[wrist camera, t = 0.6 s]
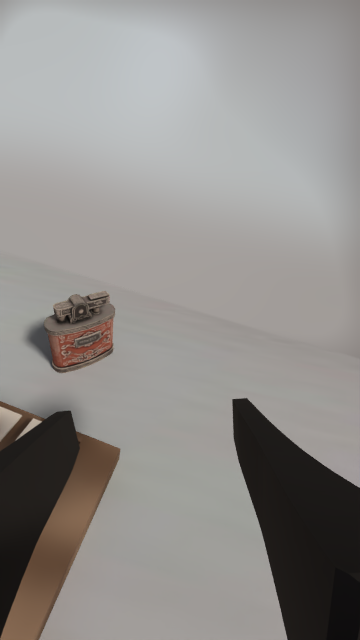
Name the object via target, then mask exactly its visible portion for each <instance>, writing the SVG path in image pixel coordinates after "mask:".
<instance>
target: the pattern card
mask: <svg viewBox="0 0 360 640" xmlns="http://www.w3.org/2000/svg"><path fill="white" fill-rule="evenodd" d="M21 417H22V415H20V414H18V413H15V412H13V411H10V410H8V409H5V408H3V407H0V442H1V440H2V439H3V438H4V437H5V436H6V435H7V433H8V432H9V431H10V430H11V429H12V428H13V426H14V425H15V424H16V423H17V422H18V421H19V419H20V418H21Z"/></svg>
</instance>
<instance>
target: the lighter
mask: <svg viewBox="0 0 360 640" xmlns="http://www.w3.org/2000/svg"><path fill="white" fill-rule="evenodd" d="M109 300H110V295H109V294H108V293H107V292H106V291H102V292H98V293H94V294H90V295H88V296H84V297H81V296H80V295H77V294H76V295H72V296H70V297H69V299H68V300H67V301H63V302H59V303H56V304H54V305H53V307H54V313H55V314H54V315H52V316H49V317H48V318H46V319H45V321H44V326H45V330H46V332H47V333H48V337H49V342H50V347H51V352H52V356H53V359H52V364H53V368H54V370H55V371H57V372H58V373H66V372H70V371H74V370H78V369H81V368H83V367H86V366H89V365H92V364H94V363H96V362H98V361H100V360H102V359H103V358H105V357H107V356H108V355H110V354H111V353H112V352H113V342H112V336H113V318H114V316H115V308H114V306H113V305H112V304H109Z"/></svg>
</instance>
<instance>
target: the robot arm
mask: <svg viewBox="0 0 360 640" xmlns="http://www.w3.org/2000/svg"><path fill="white" fill-rule="evenodd" d="M232 400H233V429H234V441H235V446H236V451H237V455H238V460H239V463H240V467H241V470H242V473H243V476H244V479H245V482H246V485H247V488H248V491H249V494H250V497H251V500H252V503H253V506H254V509H255V512H256V515H257V518H258V521H259V524H260V528H261V531H262V534H263V538H264V542H265V546H266V550H267V554H268V558H269V563H270V567H271V571H272V575H273V579H274V583H275V587H276V592H277V596H278V600H279V604H280V608H281V613H282V617H283V621H284V626H285V630H286V634H287V639H288V640H360V488H359V487H357V486H355V485H354V484H352V483H351V482H349V481H347V480H346V479H344V478H343V477H341V476H339V475H338V474H336V473H335V472H333V471H332V470H330V469H329V468H327V467H326V466H324V465H323V464H321V463H320V462H318V461H317V460H316V459H314V458H313V457H311V456H310V455H309V454H307V453H306V452H305V451H303V450H302V449H301V448H299V447H298V446H297V445H296V444H295V443H293V442H292V441H291V440H290V439H289V438H287V437H286V436H285V435H284V434H283V433H282V432H281V431H280V430H278V429H277V428H276V427H275V426H274V425H273V424H272V423H271V422H270V421H269V420H268V419H267V418H266V417H265V416H264V415H263V414H262V413H261V412H260V411H259V410H258V409H257V408H256V407H255V406H254V405H253V404H252V403H251V402H250V401H249V400H248V399H247V398H243V399H232ZM79 450H80V446H79V442H78V438H77V434H76V430H75V426H74V422H73V418H72V414H71V411H62V412H56V413H55V414H53V415H51V416H50V417H48V418H47V419H45V420H44V421H42V422H41V423H40V424H38V425H37V426H35V427H34V428H33V429H31V430H30V431H28V432H27V433H25V434H24V435H23V436H21V437H20V438H18V439H17V440H16V441H14V442H13V443H11V444H10V445H9V446H7V447H6V448H4V449H3V450H1V451H0V638H1V635H2V632H3V629H4V626H5V623H6V621H7V618H8V615H9V613H10V610H11V607H12V605H13V602H14V599H15V597H16V594H17V591H18V589H19V586H20V584H21V581H22V578H23V576H24V573H25V571H26V568H27V566H28V563H29V561H30V559H31V556H32V554H33V551H34V549H35V546H36V544H37V542H38V540H39V538H40V535H41V533H42V531H43V529H44V527H45V525H46V523H47V521H48V519H49V517H50V515H51V513H52V511H53V509H54V507H55V505H56V503H57V501H58V499H59V497H60V495H61V493H62V491H63V489H64V487H65V485H66V483H67V481H68V479H69V477H70V474H71V472H72V470H73V467H74V464H75V462H76V459H77V456H78V453H79Z"/></svg>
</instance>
